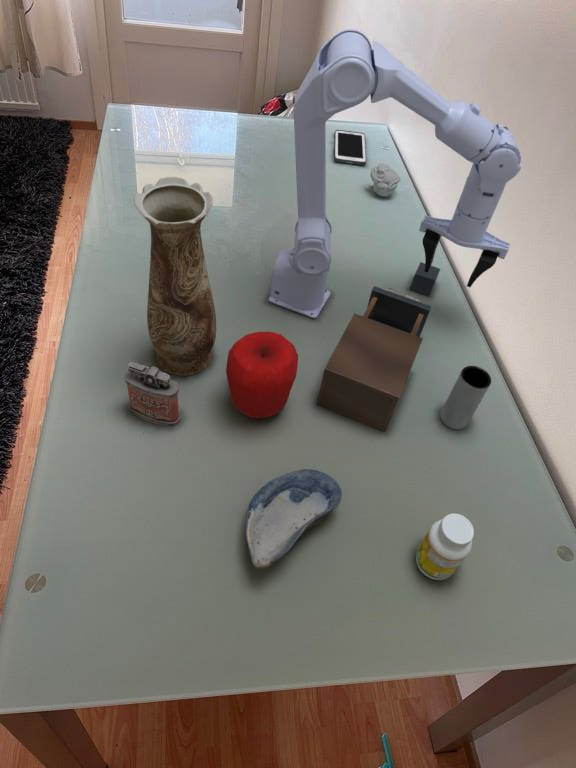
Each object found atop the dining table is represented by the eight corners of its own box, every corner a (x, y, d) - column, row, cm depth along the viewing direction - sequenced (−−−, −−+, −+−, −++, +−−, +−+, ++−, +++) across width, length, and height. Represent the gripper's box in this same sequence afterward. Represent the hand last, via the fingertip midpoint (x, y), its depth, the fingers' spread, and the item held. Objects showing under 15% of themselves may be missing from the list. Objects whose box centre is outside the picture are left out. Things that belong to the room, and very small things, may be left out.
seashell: (340, 586, 74) (347, 570, 71) (241, 580, 74) (243, 564, 70) (335, 481, 84) (341, 462, 81) (248, 475, 84) (250, 456, 80)
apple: (260, 368, 97) (267, 307, 86) (304, 406, 93) (317, 347, 82) (211, 400, 91) (211, 339, 81) (255, 442, 87) (261, 384, 77)
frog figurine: (366, 184, 136) (372, 156, 131) (396, 189, 136) (403, 161, 131) (365, 199, 132) (371, 170, 127) (395, 204, 132) (403, 176, 127)
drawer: (373, 300, 109) (381, 272, 104) (426, 320, 107) (437, 291, 102) (342, 359, 99) (350, 330, 93) (401, 382, 97) (412, 354, 92)
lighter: (184, 413, 89) (182, 370, 82) (174, 430, 87) (171, 387, 79) (136, 396, 90) (129, 352, 83) (125, 413, 88) (117, 369, 81)
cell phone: (334, 162, 141) (334, 158, 140) (334, 132, 151) (335, 129, 150) (365, 166, 141) (366, 162, 141) (364, 136, 151) (365, 132, 150)
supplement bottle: (441, 589, 76) (466, 558, 68) (406, 562, 78) (427, 529, 70) (461, 560, 79) (487, 527, 71) (427, 534, 80) (449, 500, 73)
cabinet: (345, 349, 102) (354, 312, 95) (408, 373, 99) (423, 338, 93) (316, 404, 93) (324, 368, 86) (385, 432, 91) (399, 397, 84)
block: (409, 289, 114) (415, 273, 111) (415, 278, 116) (420, 261, 113) (429, 296, 113) (435, 280, 110) (434, 284, 115) (440, 268, 112)
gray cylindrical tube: (434, 417, 94) (455, 375, 86) (449, 402, 96) (471, 360, 88) (458, 434, 92) (481, 393, 84) (473, 419, 94) (497, 377, 87)
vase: (227, 348, 99) (232, 189, 76) (194, 391, 92) (189, 231, 69) (173, 325, 101) (163, 164, 78) (137, 366, 94) (114, 203, 71)
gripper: (524, 210, 94) (493, 277, 104) (437, 183, 96) (415, 250, 107) (517, 233, 89) (485, 300, 100) (426, 203, 92) (404, 272, 102)
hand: (448, 276), depth 103 cm, fingers open, 7 cm apart
